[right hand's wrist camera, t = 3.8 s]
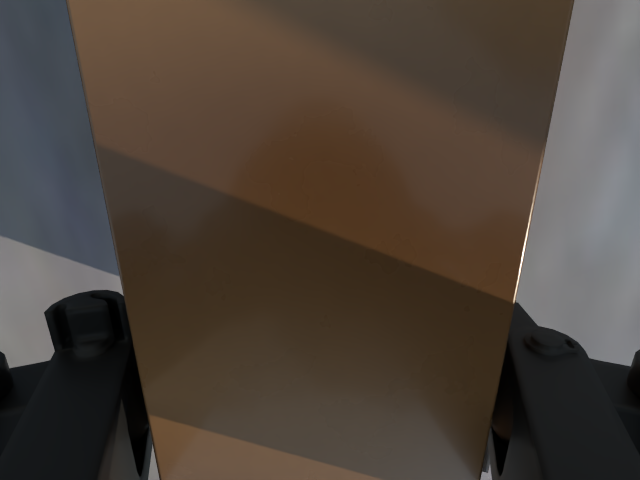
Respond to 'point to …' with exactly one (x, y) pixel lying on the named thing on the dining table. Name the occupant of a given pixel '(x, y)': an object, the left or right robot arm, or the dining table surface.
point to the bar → (320, 221)
